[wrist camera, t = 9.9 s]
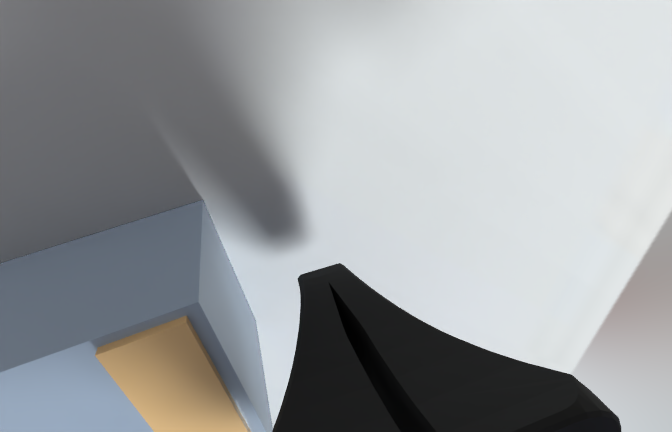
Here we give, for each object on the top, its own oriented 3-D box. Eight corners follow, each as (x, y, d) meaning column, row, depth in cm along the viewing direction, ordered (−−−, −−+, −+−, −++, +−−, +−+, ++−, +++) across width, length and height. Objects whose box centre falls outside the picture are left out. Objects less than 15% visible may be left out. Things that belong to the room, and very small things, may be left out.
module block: (255, 317, 14) (277, 457, 9) (52, 393, 13) (-34, 592, 8) (202, 198, 11) (198, 308, 7) (-54, 278, 10) (-261, 473, 6)
